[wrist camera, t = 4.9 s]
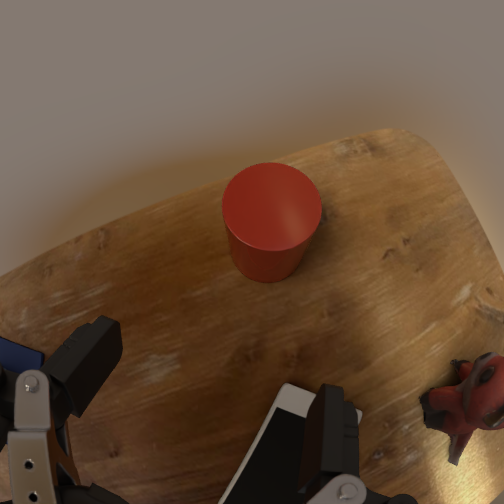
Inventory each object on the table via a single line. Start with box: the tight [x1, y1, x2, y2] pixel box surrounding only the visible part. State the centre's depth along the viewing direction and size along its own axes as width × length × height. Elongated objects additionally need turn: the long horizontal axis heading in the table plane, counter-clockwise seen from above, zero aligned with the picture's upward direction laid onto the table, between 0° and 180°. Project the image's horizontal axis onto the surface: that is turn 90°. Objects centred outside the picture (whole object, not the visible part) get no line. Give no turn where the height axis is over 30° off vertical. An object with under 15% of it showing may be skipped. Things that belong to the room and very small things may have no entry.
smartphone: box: [218, 383, 362, 504], centre depth 19 cm, size 7×16×1 cm, turn 155°
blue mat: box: [0, 337, 44, 445], centre depth 21 cm, size 12×12×1 cm
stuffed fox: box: [419, 352, 504, 466], centre depth 15 cm, size 8×11×12 cm
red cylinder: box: [222, 163, 322, 283], centre depth 23 cm, size 6×6×8 cm
